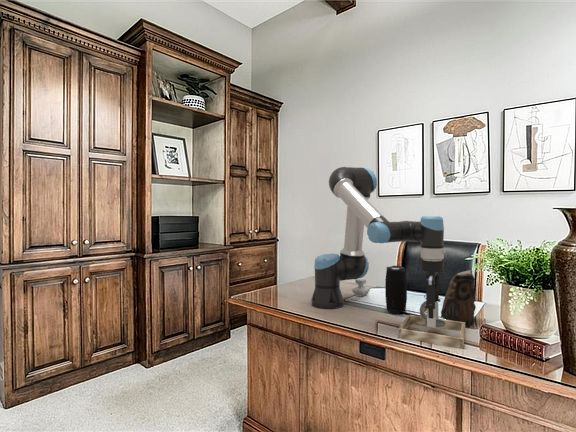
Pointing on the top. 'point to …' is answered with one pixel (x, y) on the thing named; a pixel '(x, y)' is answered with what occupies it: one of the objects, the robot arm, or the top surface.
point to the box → (430, 336)
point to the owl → (460, 299)
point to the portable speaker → (396, 289)
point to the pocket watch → (422, 313)
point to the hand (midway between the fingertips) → (432, 323)
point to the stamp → (360, 288)
